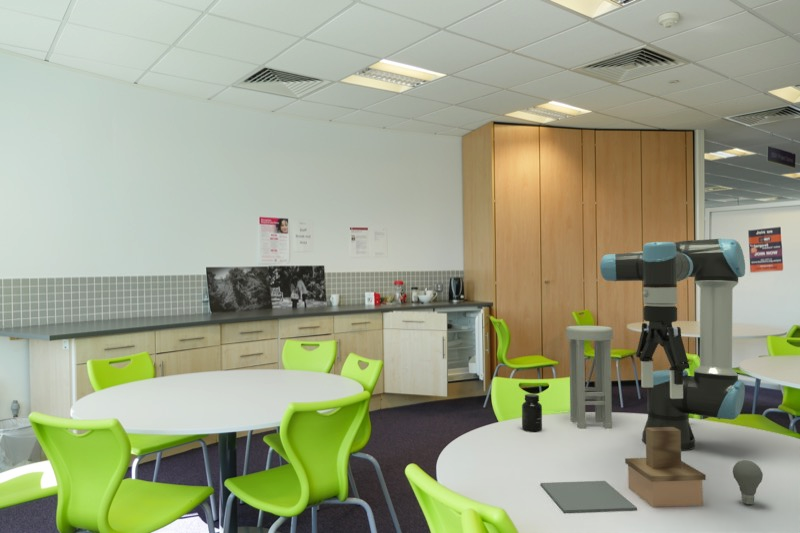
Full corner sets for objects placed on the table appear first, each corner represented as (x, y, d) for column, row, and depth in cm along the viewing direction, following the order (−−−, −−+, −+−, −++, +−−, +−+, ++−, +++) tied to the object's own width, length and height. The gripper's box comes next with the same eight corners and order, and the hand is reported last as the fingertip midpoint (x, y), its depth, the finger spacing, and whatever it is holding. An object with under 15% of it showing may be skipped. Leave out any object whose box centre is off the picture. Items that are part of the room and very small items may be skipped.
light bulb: (727, 499, 134) (726, 457, 134) (751, 498, 135) (750, 456, 135) (744, 509, 128) (744, 465, 128) (769, 508, 129) (768, 464, 129)
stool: (563, 418, 211) (562, 325, 211) (605, 418, 210) (603, 325, 211) (574, 430, 195) (573, 329, 196) (619, 430, 195) (618, 329, 195)
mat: (605, 483, 145) (605, 480, 145) (637, 510, 128) (637, 507, 128) (540, 485, 144) (540, 482, 144) (564, 512, 127) (564, 510, 127)
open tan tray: (674, 486, 143) (673, 462, 143) (702, 505, 131) (702, 479, 131) (628, 487, 142) (628, 463, 142) (652, 507, 130) (652, 480, 130)
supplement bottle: (542, 432, 192) (542, 397, 192) (522, 431, 194) (521, 396, 194) (541, 427, 199) (541, 393, 199) (521, 426, 200) (521, 392, 201)
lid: (674, 461, 143) (674, 421, 144) (705, 479, 130) (704, 435, 131) (625, 463, 143) (624, 422, 143) (651, 481, 130) (650, 437, 130)
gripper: (622, 303, 150) (622, 383, 149) (672, 307, 125) (674, 403, 124) (649, 303, 150) (650, 382, 150) (705, 307, 125) (706, 403, 125)
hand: (661, 392), depth 137 cm, fingers open, 13 cm apart
